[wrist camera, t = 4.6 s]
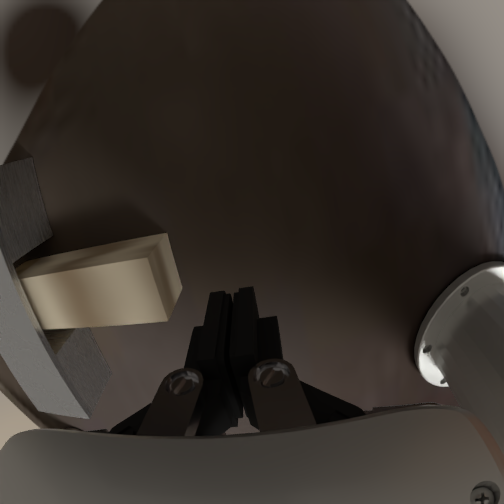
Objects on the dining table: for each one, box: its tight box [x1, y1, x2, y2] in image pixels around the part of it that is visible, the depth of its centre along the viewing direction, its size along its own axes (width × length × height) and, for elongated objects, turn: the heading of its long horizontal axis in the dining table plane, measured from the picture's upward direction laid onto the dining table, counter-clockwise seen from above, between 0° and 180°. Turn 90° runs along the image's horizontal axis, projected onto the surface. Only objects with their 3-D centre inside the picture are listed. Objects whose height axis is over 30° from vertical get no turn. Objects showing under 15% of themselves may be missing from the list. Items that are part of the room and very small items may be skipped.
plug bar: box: [15, 233, 182, 329], centre depth 19 cm, size 13×4×4 cm, turn 100°
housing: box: [0, 157, 112, 419], centre depth 19 cm, size 6×19×6 cm, turn 10°
